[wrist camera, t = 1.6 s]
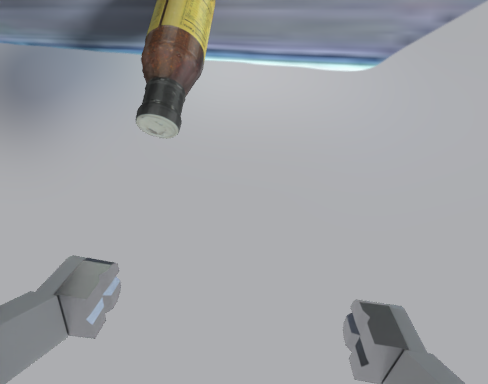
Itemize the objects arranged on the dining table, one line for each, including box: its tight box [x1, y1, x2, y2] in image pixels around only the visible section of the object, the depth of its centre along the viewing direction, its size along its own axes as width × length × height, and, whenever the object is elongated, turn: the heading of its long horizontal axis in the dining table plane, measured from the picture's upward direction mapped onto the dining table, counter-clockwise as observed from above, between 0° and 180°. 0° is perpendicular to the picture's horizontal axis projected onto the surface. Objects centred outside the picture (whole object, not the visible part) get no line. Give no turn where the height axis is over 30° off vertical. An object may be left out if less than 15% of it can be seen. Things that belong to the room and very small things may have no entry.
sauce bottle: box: [136, 0, 215, 139], centre depth 30 cm, size 6×6×20 cm
